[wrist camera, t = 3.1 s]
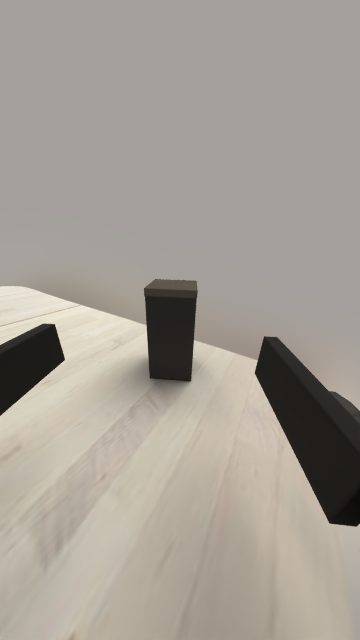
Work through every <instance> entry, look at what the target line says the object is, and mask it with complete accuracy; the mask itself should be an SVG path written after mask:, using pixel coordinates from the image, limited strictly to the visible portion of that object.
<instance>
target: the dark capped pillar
mask: <svg viewBox="0 0 360 640" xmlns="http://www.w3.org/2000/svg"><path fill="white" fill-rule="evenodd" d="M144 295H145V302H146V321H147V338H148V355H149V372H150V378H155V379H169V380H182V381H191V374H192V359H193V344H194V328H195V313H196V298H197V282H196V281H186V280H161V279H155V280H154V281H153V282H152V283H150V284H149V285H148V286H146V287H145V288H144Z"/></svg>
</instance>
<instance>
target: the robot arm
mask: <svg viewBox="0 0 360 640" xmlns="http://www.w3.org/2000/svg"><path fill="white" fill-rule="evenodd" d="M64 360H65V358H64V354H63V351H62V348H61V344H60V341H59V337H58V334H57V330H56V327H55V324H42V325H40V326H38V327H35V328H33V329H31V330H29V331H27V332H25V333H23V334H21V335H19V336H17V337H15V338H13V339H11V340H9V341H7V342H5V343H3V344H1V345H0V416H1V415H2V414H3V413H4V412H5V411H6V410H8V409H9V408H10V407H11V406H12V405H13V404H14V403H16V402H17V401H18V400H19V399H20V398H21V397H23V396H24V395H25V394H26V393H27V392H28V391H29V390H31V389H32V388H33V387H34V386H35V385H36V384H38V383H39V382H40V381H41V380H42V379H43V378H45V377H46V376H47V375H48V374H49V373H50V372H51V371H53V370H54V369H55V368H56V367H57V366H58V365H60V364H61V363H62V362H63V361H64ZM255 375H256V377H257V379H258V381H259V383H260V385H261V387H262V389H263V391H264V393H265V395H266V397H267V399H268V401H269V403H270V405H271V407H272V409H273V411H274V413H275V415H276V417H277V419H278V421H279V423H280V425H281V427H282V429H283V431H284V433H285V435H286V437H287V439H288V441H289V443H290V445H291V447H292V449H293V451H294V453H295V455H296V457H297V459H298V461H299V463H300V465H301V467H302V469H303V471H304V473H305V475H306V477H307V479H308V481H309V483H310V485H311V487H312V489H313V491H314V493H315V495H316V497H317V499H318V501H319V503H320V505H321V507H322V509H323V511H324V513H325V515H326V517H327V519H328V521H329V523H330V524H338V525H347V526H358V525H359V524H360V411H359V410H358V409H357V408H356V407H355V406H354V405H353V404H352V403H351V402H349V401H348V400H346V399H345V398H343V397H342V396H340V395H339V394H338V393H336V392H330V391H328V390H327V389H326V388H325V387H324V386H323V385H322V384H321V383H320V382H319V381H318V379H317V378H315V376H314V375H313V374H312V373H311V372H310V371H309V370H308V369H307V368H306V367H305V366H304V365H303V364H302V363H301V362H300V361H299V360H298V359H297V358H296V356H295V355H294V354H293V353H292V352H291V351H290V350H289V349H288V348H287V347H286V346H285V345H284V344H283V343H282V342H281V341H280V340H279V339H278V338H277V337H264V339H263V343H262V347H261V351H260V354H259V359H258V362H257V366H256V370H255Z"/></svg>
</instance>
